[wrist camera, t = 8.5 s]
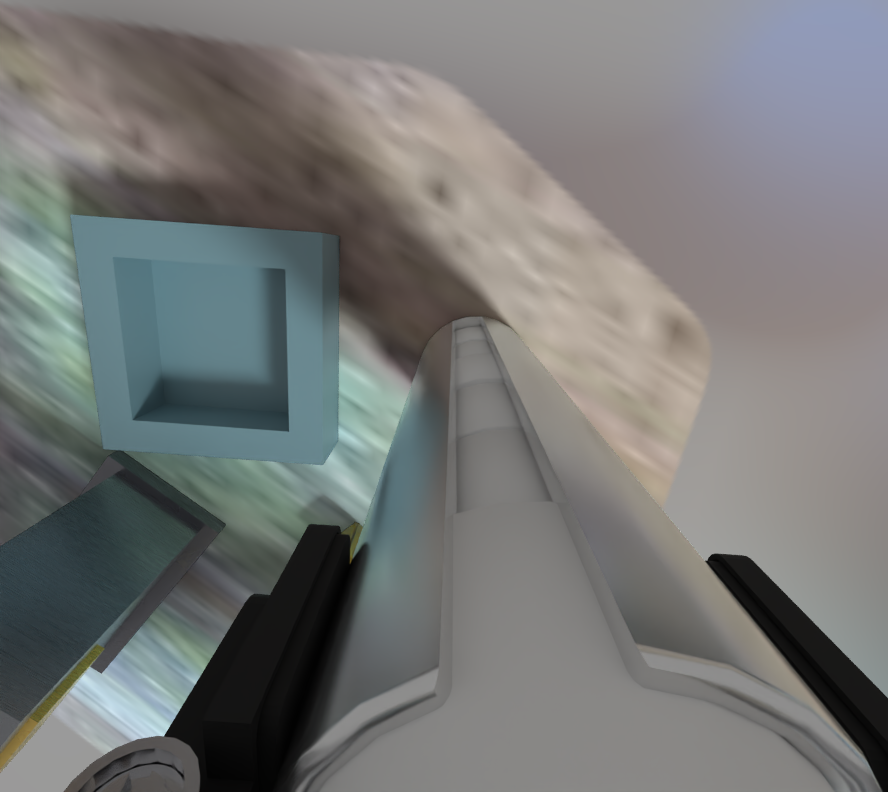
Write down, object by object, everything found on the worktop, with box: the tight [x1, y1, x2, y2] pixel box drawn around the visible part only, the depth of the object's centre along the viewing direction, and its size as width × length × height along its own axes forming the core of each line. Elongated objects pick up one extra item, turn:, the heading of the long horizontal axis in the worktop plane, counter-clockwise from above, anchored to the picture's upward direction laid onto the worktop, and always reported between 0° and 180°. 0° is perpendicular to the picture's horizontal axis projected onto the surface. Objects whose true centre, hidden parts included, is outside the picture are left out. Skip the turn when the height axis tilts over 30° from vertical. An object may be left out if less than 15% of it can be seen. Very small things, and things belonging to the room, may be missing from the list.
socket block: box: [70, 215, 339, 465], centre depth 26 cm, size 12×12×4 cm
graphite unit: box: [0, 450, 226, 773], centre depth 25 cm, size 8×15×14 cm, turn 139°
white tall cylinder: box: [273, 316, 882, 792], centre depth 16 cm, size 6×6×25 cm
